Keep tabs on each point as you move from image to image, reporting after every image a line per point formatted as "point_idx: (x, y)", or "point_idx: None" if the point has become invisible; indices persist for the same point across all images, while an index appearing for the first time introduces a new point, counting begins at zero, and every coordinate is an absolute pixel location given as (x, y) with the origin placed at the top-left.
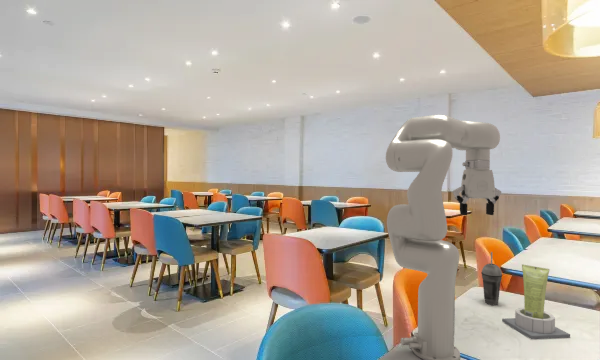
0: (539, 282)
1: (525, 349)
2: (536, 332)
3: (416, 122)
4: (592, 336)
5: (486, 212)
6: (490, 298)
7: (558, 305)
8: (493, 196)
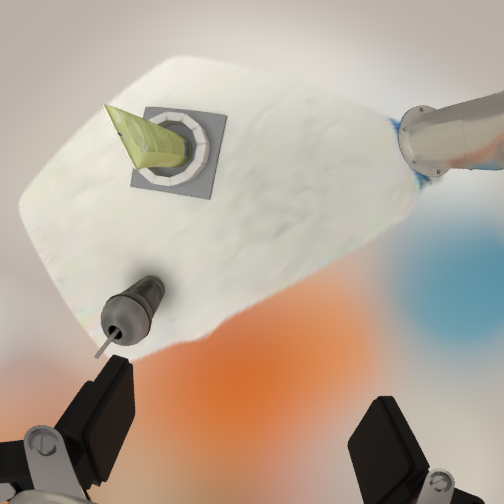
0: (141, 122)
1: (276, 90)
2: (200, 124)
3: None
4: None
5: (130, 420)
6: (157, 286)
7: (42, 239)
8: (36, 498)
